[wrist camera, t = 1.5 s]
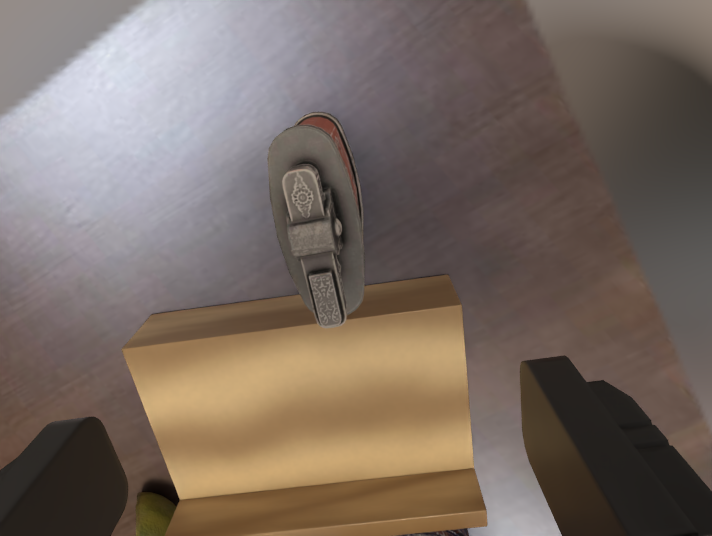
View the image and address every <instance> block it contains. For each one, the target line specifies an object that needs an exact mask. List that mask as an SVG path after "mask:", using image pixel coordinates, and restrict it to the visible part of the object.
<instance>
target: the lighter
mask: <svg viewBox="0 0 712 536" xmlns="http://www.w3.org/2000/svg"><path fill="white" fill-rule="evenodd" d="M268 173H269V189H270V200H271V206H272V211H273V216H274V222H275V227H276V232H277V238H278V240H279V243H280V246H281V249H282V252H283V255H284V258H285V261H286V264H287V267H288V270H289V273H290V275H291V277H292V279H293V281H294V283H295V285H296V287H297V289H298V291H299V293H300V296H301V298H302V300H303V302H304V304H305V305H306V306H307V308H308V309H309V310H310V311H311V312H313V313H314V315H315V319H316V321H317V324H318V325H319V326H320V327H323V328H334V327H338V326H342V325H343V324H344V323H345V321H346V316H347V315H349V314H350V313H352V312H353V311H355V310H356V309H357V308H358V307H359V305H360V304H361V303H362V301H363V297H364V268H365V256H364V246H363V205H362V197H361V188H360V181H359V177H358V173H357V170H356V166H355V162H354V158H353V154H352V152H351V149H350V146H349V144H348V141H347V139H346V136H345V134H344V131H343V128H342V126H341V124H340V123H339V121H338V120H337V119H336V118H335V117H333V116H332V115H331V114H328V113H324V112H312V113H310V114H307V115H305V116H303V117H302V118H301V119H300V120H298V121H297V122H296V124H295V125H294V126H293V127H290V128H288V129H286V130H284V131H283V132H282V133H281V134H279V135H278V136H277V137H276V138H275V139H274V140H273V142H272V144H271V146H270V147H269V152H268Z"/></svg>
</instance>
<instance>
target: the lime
mask: <svg viewBox="0 0 712 536" xmlns="http://www.w3.org/2000/svg"><path fill="white" fill-rule="evenodd" d="M176 508H177V507H176V506H175V505H174V504H173V503H172V502H171V501H169V500H168V499H167V498H165V497H163V496H161V495H159V494H156V493H152V492H141V493H138V495H137V504H136V536H165V534H166V531H167V529H168V527H169V524H170V522H171V519H172V517H173V515H174V512H175V510H176Z"/></svg>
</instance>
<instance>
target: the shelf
mask: <svg viewBox="0 0 712 536" xmlns="http://www.w3.org/2000/svg"><path fill="white" fill-rule="evenodd" d="M122 352H123V355H124V357H125V360H126V362H127V365H128V368H129V370H130V373H131V375H132V378H133V380H134V383H135V386H136V388H137V391H138V393H139V396H140V398H141V401H142V404H143V406H144V409H145V411H146V414H147V416H148V419H149V422H150V424H151V427H152V429H153V432H154V434H155V437H156V440H157V442H158V445H159V447H160V450H161V452H162V455H163V458H164V460H165V463H166V465H167V468H168V470H169V473H170V476H171V478H172V481H173V483H174V486H175V488H176V491H177V494H178V496H179V499H180V501H179V503H178V505H177V508H176V510H175V512H174V515H173V517H172V519H171V522H170V524H169V527H168V529H167V531H166V534H165V536H395V535H405V534H415V533H425V532H435V531H445V530H455V529H465V528H475V527H484V526H487V511H486V507H485V504H484V500H483V497H482V493H481V490H480V486H479V483H478V480H477V476H476V473H475V469H474V461H473V447H472V434H471V421H470V408H469V395H468V382H467V369H466V355H465V342H464V329H463V316H462V305H461V303H460V300H459V298H458V296H457V294H456V291H455V289H454V287H453V284H452V282H451V280H450V278H449V275H441V276H433V277H426V278H418V279H411V280H403V281H396V282H389V283H381V284H374V285H366V286H364V297H363V301H362V303H361V304H360V305H359V307H358V308H357V309H356V310H355V311H353V312H352V313H350V314H349V315H347V316H346V321H345V323H344V324H343V325H342V326H338V327H334V328H323V327H320V326H319V325H318V324H317V321H316V319H315V315H314V313H313V312H311V311H310V310H309V309H308V308H307V306H306V305H305V304H304V302H303V300H302V298H301V296H300V295H292V296H285V297H277V298H270V299H263V300H255V301H248V302H240V303H233V304H226V305H218V306H211V307H203V308H196V309H189V310H181V311H174V312H166V313H159V314H152V315H151V316H150V317H149V318H148V319H147V320H146V322H145V323H144V324H143V325H142V326H141V327H140V329H139V330H138V331H137V332H136V333H135V334H134V335H133V337H132V338H131V339H130V340H129V341H128V342H127V343H126V345H125V346H124V347H123V348H122Z"/></svg>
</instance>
